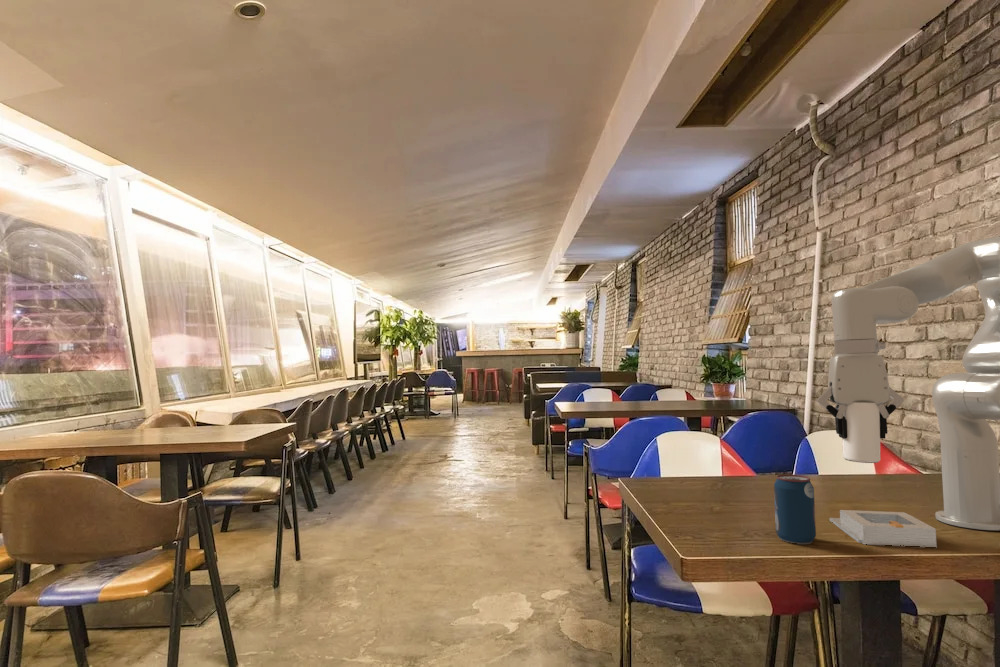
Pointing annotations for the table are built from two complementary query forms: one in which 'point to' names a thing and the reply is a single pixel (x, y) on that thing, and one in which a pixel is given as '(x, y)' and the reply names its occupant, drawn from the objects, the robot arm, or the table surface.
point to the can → (862, 433)
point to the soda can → (794, 509)
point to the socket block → (886, 528)
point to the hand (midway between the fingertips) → (861, 436)
